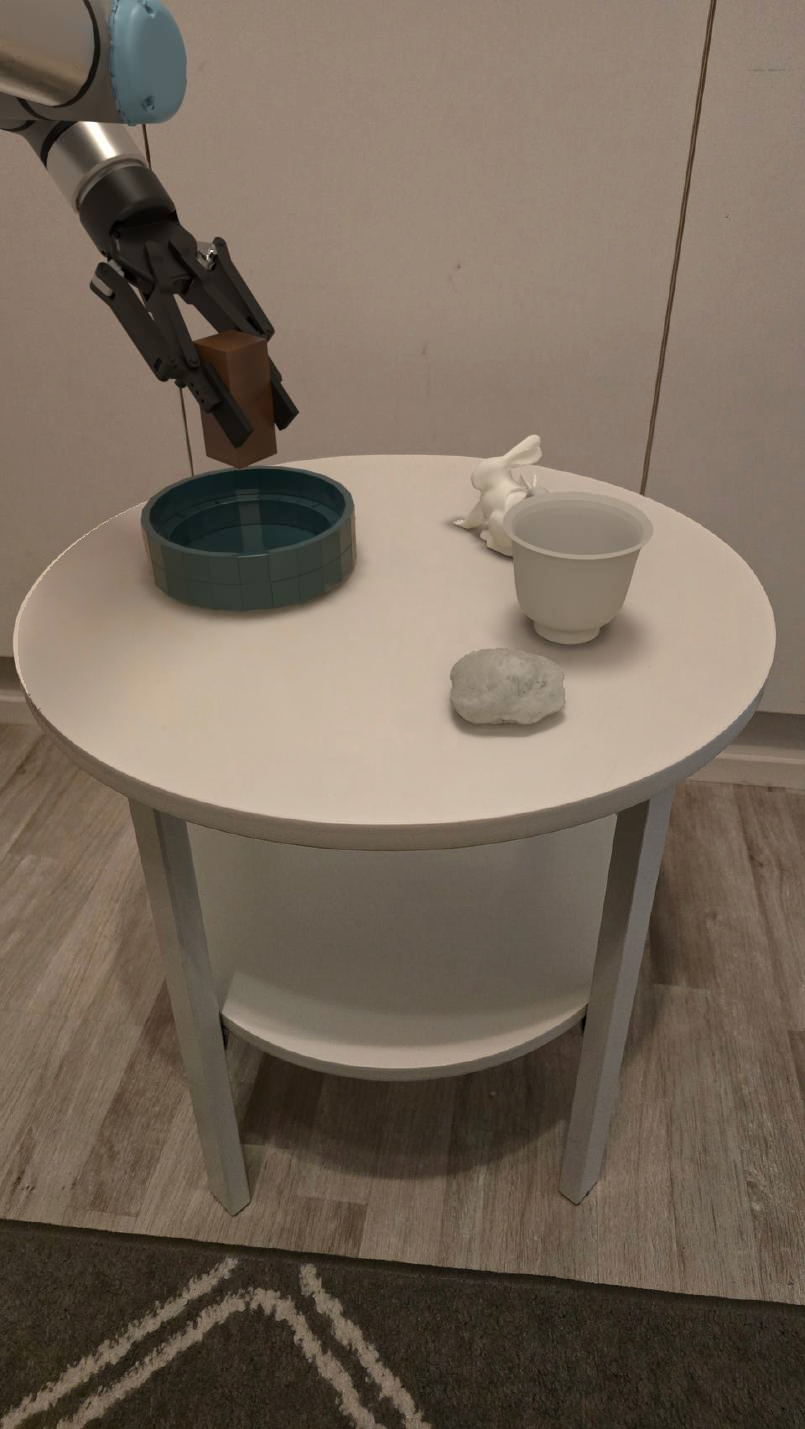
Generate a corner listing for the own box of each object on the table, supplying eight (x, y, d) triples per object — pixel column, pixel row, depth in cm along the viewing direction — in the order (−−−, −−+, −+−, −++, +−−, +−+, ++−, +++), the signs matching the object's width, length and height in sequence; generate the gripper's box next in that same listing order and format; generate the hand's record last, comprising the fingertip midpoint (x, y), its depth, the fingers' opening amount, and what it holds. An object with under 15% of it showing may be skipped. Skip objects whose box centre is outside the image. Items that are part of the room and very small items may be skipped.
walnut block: (239, 469, 85) (226, 352, 79) (206, 456, 88) (190, 341, 82) (277, 453, 88) (267, 339, 82) (243, 441, 90) (231, 329, 84)
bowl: (146, 626, 86) (135, 565, 82) (155, 528, 102) (145, 473, 98) (368, 606, 88) (366, 546, 85) (344, 513, 104) (341, 459, 100)
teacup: (583, 570, 94) (594, 470, 88) (663, 650, 82) (682, 542, 76) (464, 590, 91) (467, 488, 85) (531, 677, 79) (540, 566, 73)
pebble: (503, 666, 81) (506, 613, 78) (580, 708, 76) (586, 654, 73) (427, 708, 76) (427, 654, 73) (504, 757, 71) (508, 701, 68)
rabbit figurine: (451, 523, 102) (453, 432, 96) (512, 507, 105) (517, 418, 99) (515, 571, 93) (522, 475, 88) (580, 553, 96) (590, 459, 90)
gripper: (181, 209, 91) (319, 424, 92) (12, 242, 81) (171, 484, 82) (211, 148, 85) (358, 379, 86) (33, 175, 75) (204, 437, 76)
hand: (267, 429), depth 84 cm, fingers closed on walnut block, 4 cm apart
